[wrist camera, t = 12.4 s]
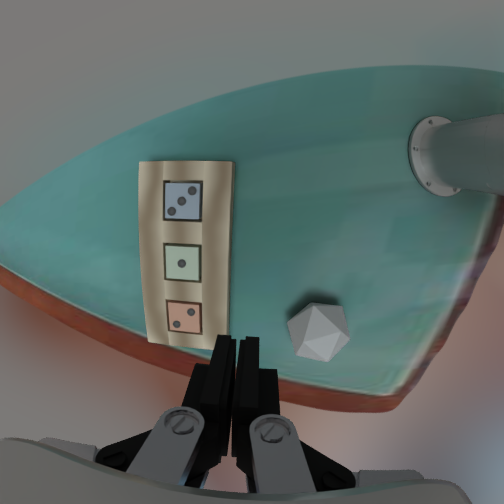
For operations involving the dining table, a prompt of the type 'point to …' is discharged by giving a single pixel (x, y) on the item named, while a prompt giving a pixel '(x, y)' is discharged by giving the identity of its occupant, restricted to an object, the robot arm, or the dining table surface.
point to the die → (319, 331)
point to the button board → (186, 232)
